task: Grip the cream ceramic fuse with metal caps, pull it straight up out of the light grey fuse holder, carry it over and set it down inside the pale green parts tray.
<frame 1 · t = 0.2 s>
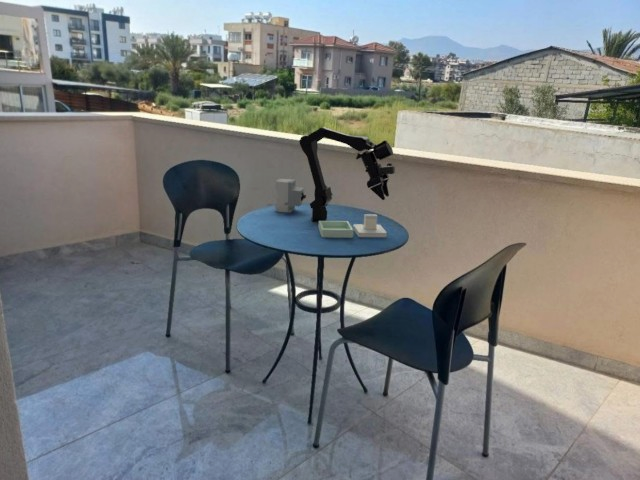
hand: (386, 198, 190), 15 cm above the table, tool tilted 30°, fingers open, 9 cm apart
fuse: (370, 224, 189), in the fuse holder
fuse holder: (369, 232, 191), on the table
circuit breaker: (290, 211, 220), on the table
parts tray: (335, 232, 189), on the table
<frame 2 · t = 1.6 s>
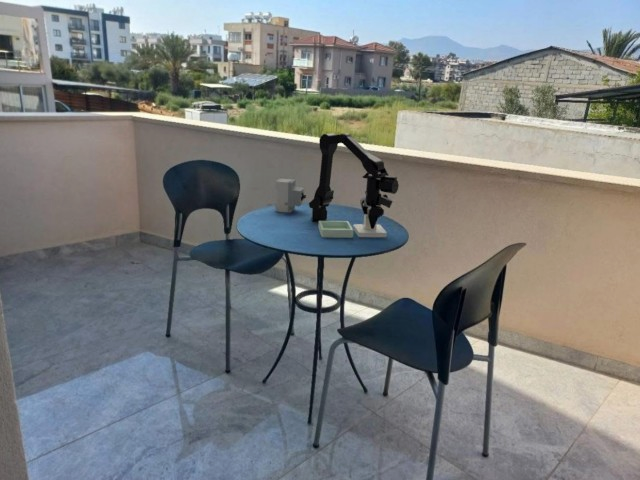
hand: (369, 225, 190), 3 cm above the table, tool pointing down, fingers open, 9 cm apart
nothing on the table moved.
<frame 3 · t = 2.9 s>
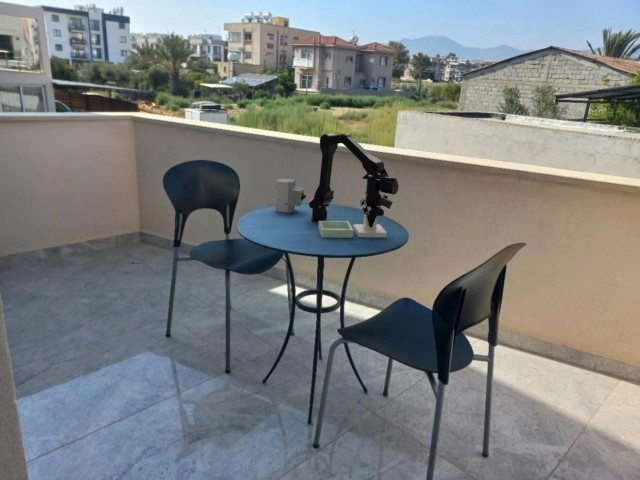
hand: (370, 226, 190), 3 cm above the table, tool pointing down, fingers closed on fuse, 3 cm apart
fuse: (370, 224, 189), in the fuse holder, touching gripper
everything else where it was.
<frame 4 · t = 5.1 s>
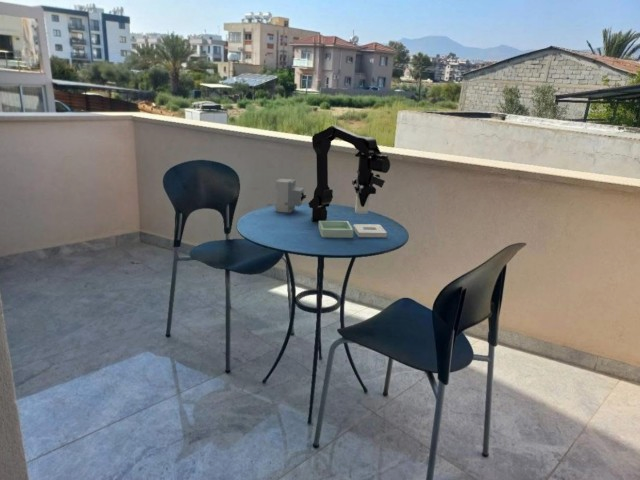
hand: (361, 205, 187), 12 cm above the table, tool pointing down, fingers closed on fuse, 3 cm apart
fuse: (362, 203, 186), point 13 cm above the table, touching gripper
everything else where it was.
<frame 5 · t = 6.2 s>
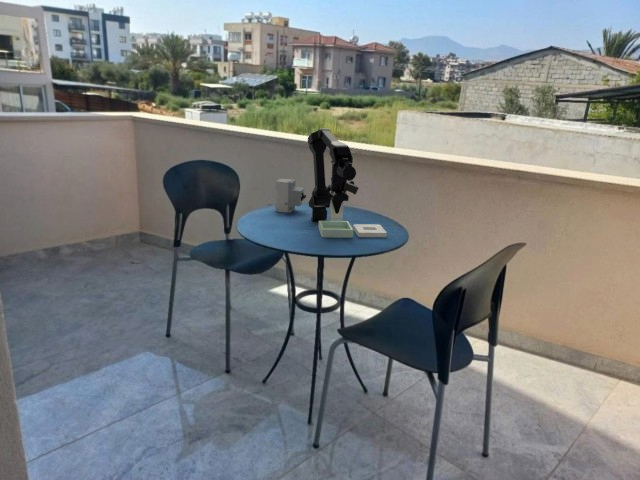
hand: (336, 212, 186), 9 cm above the table, tool pointing down, fingers closed on fuse, 3 cm apart
fuse: (336, 210, 186), point 10 cm above the table, touching gripper
everything else where it was.
when the fingers open (5 cm above the table, at t = 7.4 s): fuse drops 1 cm, resting on parts tray.
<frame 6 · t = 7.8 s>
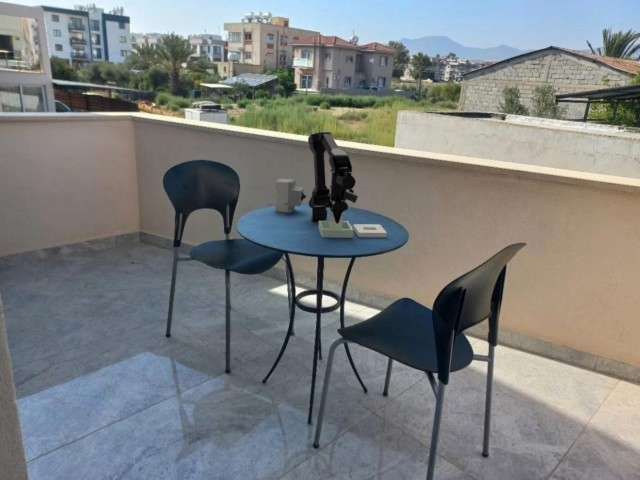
hand: (335, 220, 187), 5 cm above the table, tool pointing down, fingers open, 7 cm apart
fuse: (335, 221, 187), in the parts tray, point 5 cm above the table
everything else where it was.
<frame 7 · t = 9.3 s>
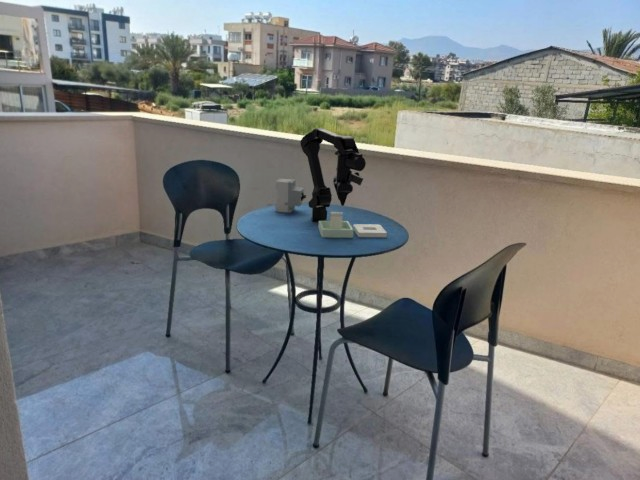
hand: (341, 202, 191), 12 cm above the table, tool pointing down, fingers open, 9 cm apart
nothing on the table moved.
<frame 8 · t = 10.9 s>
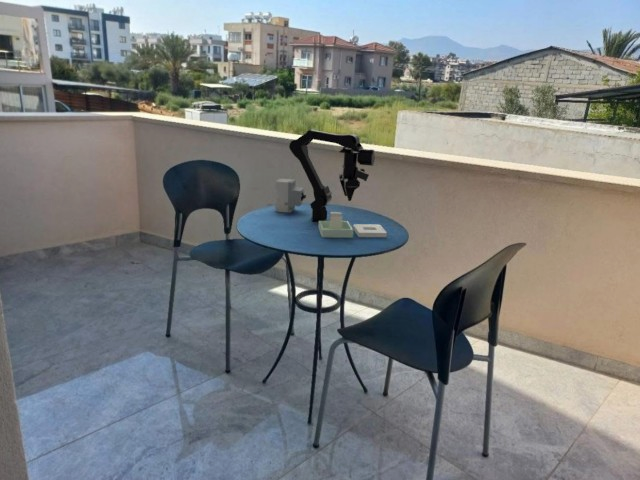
hand: (347, 198, 198), 12 cm above the table, tool pointing down, fingers open, 9 cm apart
nothing on the table moved.
at the end: fuse inside the target area on the parts tray (0.1 cm from its centre), point 4.8 cm above the parts tray's base; fuse moved 15.0 cm from its start; the gripper is holding nothing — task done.
